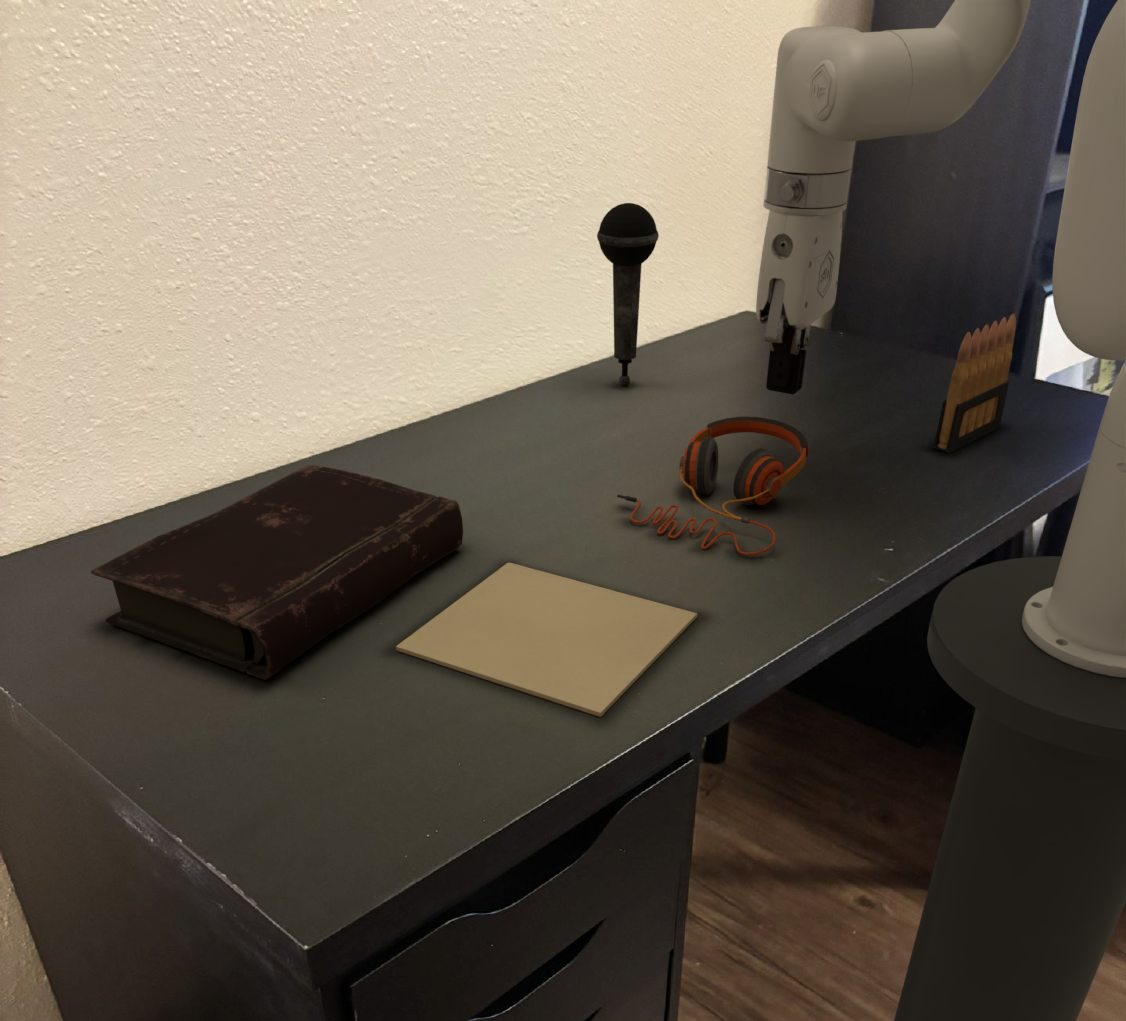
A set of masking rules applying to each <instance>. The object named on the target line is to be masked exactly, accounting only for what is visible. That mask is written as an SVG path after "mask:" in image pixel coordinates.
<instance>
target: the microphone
mask: <svg viewBox="0 0 1126 1021" xmlns="http://www.w3.org/2000/svg"><path fill="white" fill-rule="evenodd" d="M596 238H597V241H598V244H599V248H600V250H601V252H602V254H603V256H604V257H605V258H606V259H607V260H608V261H609V263H611V264H612V289H613V290H612V295H613V298H612V300H613V303H612V304H613V356H614V357H613V358H614V359H617V360H618V361H617V362H618V363H619V364H621V375H620V376H619V378H618V382H619V384H620V386H622V387H626V386H628V385H629V384H630V382H631V378H630V376H629V375H628V374H629V364H632V363H633V359H634V360H635V358H637V350H638V348H637V347H638V331H639V330H638V327H639V313H640V299H641V298H640V296H641V280H642V264H643V263H644V262H646V261H647V260H648V258H650V257H651V255H652V254H653V252H654V250H655V247H656V244H657V241H659V231H658V229H657V224H656V221H655V219H654V217H653V216H652V214H651V213H650V212H649V211H648V210H647V209H646V208H645V207H643V206H641V205H640V204H637V203H633V202H624V203H620V204H617V205H616V206H613V207H612V208H611V209H610V210H609V211H607V212H606V214H605V215H604V217H603V218H602V220H601V221H600V225H599V229H598V231H597V234H596Z"/></svg>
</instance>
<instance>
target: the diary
mask: <svg viewBox="0 0 1126 1021" xmlns="http://www.w3.org/2000/svg"><path fill="white" fill-rule="evenodd" d="M463 523H464V522H463V516H462V512H461V507H460V504H459V502H458V501H457V500H456V499H450V498H447V497H443V496H436V495H435V494H432V493H426V492H423V491H420V490H415V489H413V488H409V487H407V486H406V487H405V486H402V485H399V484H396V483H393V482H389V481H386V480H383V479H380V478H376V477H373V476H368V475H364V474H360V473H355V472H352V471H348V470H344V469H338V468H333V467H328V466H323V465H316V464H307V465H305V466H303V467H300V468H298V469H297V470H295V471H293V472H291V473H290V474H287V475H285V476H284V477H282V478H280V479H277V480H276V481H274V482H272V483H270V484H268V485H266V486H264V487H262V488H261V489H259V490H257V491H254V492H253V493H251V494H249V495H247V496H245V497H243V498H241V499H239V500H237V501H235V502H234V503H233V502H232V503H231V504H229V505H227V506H225V507H224V508H221V509H219V510H218V511H216V512H213V513H212V514H209V515H207V516H204V517H202V518H200V519H197V520H194V521H192V522H190V523H187V524H184V525H183V526H182V525H181V526H179V527H177V528H175V529H172V530H169V531H167V532H165V533H162V534H159V535H157V536H156V537H153V538H152V539H150V540H147V541H145V542H143V543H142V544H140V545H138V546H136V547H134V548H132V549H130V550H128V551H127V552H125V553H122V554H121V555H119V556H117V557H115V558H113V559H111V560H109V561H107V562H105V563H103V564H101V565H99V566H97V567H95V568H94V569H92V570H91V572H90V573H91V574H92V575H94V576H97V577H100V578H103V579H106V580H109V581H112V584H113V589H114V592H115V594H116V599H117V602H118V605H119V608H120V611H118V612H116V613H114V614H112V615H111V616H109V617H107V618H106V619H105V622H106V623H108V624H109V625H113V626H116V627H119V628H121V629H124V630H127V631H130V632H132V633H135V634H138V635H140V636H143V637H146V638H149V639H152V640H154V641H157V642H160V643H163V644H164V645H167V646H168V645H169V646H170V647H173V648H175V649H179V650H181V651H185V652H187V653H190V654H192V655H196V656H198V657H201V658H203V659H206V660H209V661H212V662H214V663H217V664H220V665H223V666H225V667H228V668H231V669H233V670H237V671H239V672H241V673H245V672H246V674H248V675H250V676H253V677H255V678H258V679H261V680H264V681H266V680H268V679H270V678H271V677H272V676H274V675H275V674H277V673H278V672H279V671H281V670H282V669H283V668H285V667H286V666H288V665H289V664H290V663H292V662H293V661H294V660H296V659H297V658H298V657H300V656H301V655H303V654H304V653H306V652H307V651H308V650H309V649H311V648H312V647H313V646H315V645H316V644H317V643H319V642H321V640H323V639H324V638H326V637H327V636H329V635H330V634H332V633H333V632H335V631H337V630H339V629H340V628H342V627H343V626H344V625H347V623H349V622H351V621H353V620H354V619H355V618H357V617H358V616H360V615H362V614H363V613H365V612H367V611H368V610H370V609H371V608H374V606H376V605H377V604H378V603H380V602H381V601H383V600H384V599H385V598H386V597H388V596H389V595H390V594H392V593H393V592H394V591H396V590H397V589H399V588H400V587H401V586H403V585H404V584H405V583H407V582H408V581H409V580H411V579H412V578H413V577H414V576H416V575H418V574H419V573H421V572H422V571H424V570H426V569H427V568H429V567H430V566H432V565H433V564H435V563H437V562H438V561H440V560H442V559H443V558H445V557H446V556H448V555H449V554H451V553H453V552H454V551H456V550H457V549H460V547H461V546H462V545H463V538H464V537H463V536H464V524H463Z"/></svg>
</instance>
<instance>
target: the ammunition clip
mask: <svg viewBox="0 0 1126 1021" xmlns="http://www.w3.org/2000/svg"><path fill="white" fill-rule="evenodd" d="M1016 326H1017V320H1016V314H1015V313H1011V315H1010V316H1009V318H1008V321H1007V317H1006V316H1004V317H1003V318H1002V319H1001V320H1000V322H999V324H998V320H994V321H993V323H992V324H991V326H990V327H989V324H987V323H986V324H985V325H984V327H983V328H982V330H980V328H979V327H977V328H976V329H975V330H974V332H973V334H972V333H971V332H970V331H967V333H965V335H964V337H963V339H962V342H961V344H960V347H959V350H958V353H957V359H956V361H955V364H954V369H953V371H952V374H951V376H950V382H949V388H948V391H947V396H946V399H944V400H943V402H942V406H941V411H940V415H939V420H938V425H937V428H936V432H935V433H936V434H935V438H934V444H933V447H932V448H933V449H935V450H937V451H941V452H943V453H947V454H950V453H953V452H954V451H957V450H958V449H961V448H962V447H964V446H966V445H968V444H971V443H972V442H974V441H976V440H978V439H979V438H981V437H984V436H986V435H987V434H989V433H991V432H993V431H995V430H997V429H999V428H1000V427H1001V423H1002V419H1003V418H1002V417H1003V413H1004V409H1005V404H1006V401H1007V400H1006V399H1007V394H1008V390H1009V387H1010V386H1009V384H1010V380H1008V378H1009V374H1010V373H1009V371H1010V367H1011V363H1012V360H1013V359H1012V358H1013V347H1014V341H1015V336H1016V328H1017V327H1016Z"/></svg>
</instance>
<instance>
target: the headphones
mask: <svg viewBox="0 0 1126 1021" xmlns="http://www.w3.org/2000/svg"><path fill="white" fill-rule="evenodd" d="M737 433H738V434H739V433H750V434H751V433H753V434H761V435H766V436H771V437H774V438H777V439H780V440H783V441H784V442H787V443H788V444H790V445H792V446H793V447H794V448H795V450H796V451H797V452H798V454H799V458H798V459H797V460H796V461H795V462H794V463H793V464H792V465H791V466H790V467H788V468H787V469H786V470H784V466H783V464H782V463H781V461H780V460H779V459H777V458H776V456H775V453H773V452H772V451H770V450H768V449H766V448H762V447H760V448H756V449H754V450H751V452H749V453H748V454H747V455H746V456H745V457H744V458H743V459H742V461H741V462H740V464H739V466H738V467H737V469H736V471H735V474H734V480H733V494H734V497H735V499H730V500H727V501H724V502H723V504H722V507H721V509H722V511H723V512H721V511H719V510H717V509H715V508H713V507H711V506H709V505H708V504H706V503H704V502H703V501H702V500H701V499H700V498H699V497H698V495H697V494H696V491H698V493H699V494H700V495H710V494H711V492H712V491H713V490H714V488H715V485H716V482H717V478H718V477H717V476H718V471H719V446H718V443H717V440H716V438H718V437H721V436H724V435H730V434H737ZM809 454H810V447H809V443H808V440H807V438H806V437H805V435H804V434H803V433H802V432H801V431H800V430H799V429H797V428H796V427H794V426H792V425H790V424H788V423H786V422H783V421H780V420H776V419H772V418H766V417H761V416H735V417H727V418H722V419H719V420H715V421H712V422H708V424H707V425H706V427H705V428H703V429H701V430H700V431H698V432H697V433H696V434H695V435H694V436H693V437H692V438H691V440H690V441H689V443H688V444H687V447H686V448H685V450H684V452H683V456H681V457H680V459H679V463H678V471H679V478H680V480H681V482H682V483H683V485H684V486H686V488H688V489H689V490H690V491H691V492H692V495H693V497H694V498H695V500H696V501H697V502H698V503H699V504H701V505H702V506H703V507H704V508H705V509H707V510H709V511H711V512H713V513H715V514H717V515H720V516H722V517H726V518H728V519H733V520H734V521H735V520H736V521H740V522H741V523H744V524H747V525H749V524H752V525H757V526H759V527H761V528H763V529H766V530H767V531H768V532H770V533H771V534H772V537H773V538H772V542H771V543H770V544H769V545H768V546H767V547H765V548H763V549H761V550H758V551H753V552H751V551H750V552H746V551H742V550H741V549H740V548H739V543H738V539H737V536H736V535H735V533H733V532H731V531H722V532H721V533H718V534H717V535H716V536H715V537H713V539H712V540H711V541H710V542H708V544H706V542H707V541H708V539H709V538H710V536H711V535H712V534H713V532H714V530H715V528H716V526H717V524H718V521H717V519H715V518H714V517H708V518H706V519H704V520H703V521H702V523H701V524H700V525H699V527H698V528H697V529H696V530H695V531H693V529H694V526H695V525H696V523H697V519H696V518H695V517H691V518H689V519H688V520H687V521H686V523H684V525H683V526H682V527H681V529H680V530H679V531H678V532H677V533H676V534H675V535H672V534H673V532H674V531H675V529H676V528H677V525H678V520H676V519H672V518H674V516H675V515H676V514H677V512H678V510H679V506H678V505H677V504H671V505H670V506H669V507H668V508H666V510H665V511H664V507H663V506H656V508H654V509H653V511H652V512H651V513H650V514H649V515H648V516H647V517H646V518H645V519H642V520H636V519H634V515H635V514H636V513H637V511H638V510H639V509H640V508H641V506H642V502H641V500H639V499H638V498H637V497H634V496H630V495H622V494H617V495H616V497H617V498H620V499H624V500H625V501H626V502H632V503H638V505H637V506H636V507H635V508H634V510H633V511H632V512H631V514H630V517H629V519H630V521H631V522H632V523H635V524H644V523H646V522H648V521H649V520H650V519H651V518H652V517H653V516H654V515H655V514H656V512H657V511H658V510H659V512H658V513H657V514H656V516H655V517H654V518H653V519H652V522H651V524H653V525H657V524H659V523H660V522H661V521H662V520H663V519H664V518H665V517H666V516H667V514H668V513H669V512H670V511H671V510H672V509H673V508H675V509H674V510H673V512H672V513H671V514H670V516H668V518H666V520H665V521H664V522H663V523H662V524H661V525H660V527H659V528H657V534H658V535H662V534H664V533H665V532H666V531H667V529H668V528H669V527H670V526H671V524H673V523H674V524H673V527H672V528H671V529H670V530H669V532H668V533H667V537H668V538H669V539H672V540H673V539H677V538H678V537H679V536H680V535H681V534H682V533H683V532H684V531H685V529H686V528H687V526H688V525H689V524H690V523H691V522H692V524H691V525H690V528H689V533H690V534H692V535H696V534H698V533H699V532H700V531H701V530H702V528H703V526H704V525H705V524H707V523H708V522H710V521H713V525H712V527H711V529H709V532H708V533H707V534H706V537H704V540H703V541H702V543H701V544H700V547H701V549H702V550H707V549H708V548H709V547H711V546H712V545H713V544H714V543H715V541H717V540H718V539H719V538H721V537H722V536H725V535H729V536H731V537H732V538H733V541H734V546H735V549H736V551H737V552H738V553H739V554H740V555H743V556H756V555H760V554H762V553H766V552H767V551H768V550H770V549H771V548H773V546H774V545H775V544H776V541H777V535H776V533H775V531H774V530H773V529H772V528H771V527H769V526H767V525H766V524H763V523H762V522H758V521H755V520H751V519H750V518H748V517H744V516H742V517H741V516H739V515H735V514H733V513H731V512H729V510H727V509H726V505H729V504H733V503H740V504H743V505H746V506H754V505H758V506H759V505H760V506H764V505H766V504H768V503H770V502H771V501H772V500H773V499H774V498H775V497H776V496H777V495H778V493H779V491H780V490H781V487H782V486H784V485H786V484H787V483H788V482H789V481H791V480H792V479H794V478H795V476H797V475H798V473H799V472H800V471H802V470H803V468H804V467H805V464H806V462H807V461H806V460H807V458H809ZM695 490H696V491H695ZM663 511H664V513H663ZM662 513H663V514H662ZM671 519H672V520H671ZM705 544H706V545H705Z"/></svg>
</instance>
